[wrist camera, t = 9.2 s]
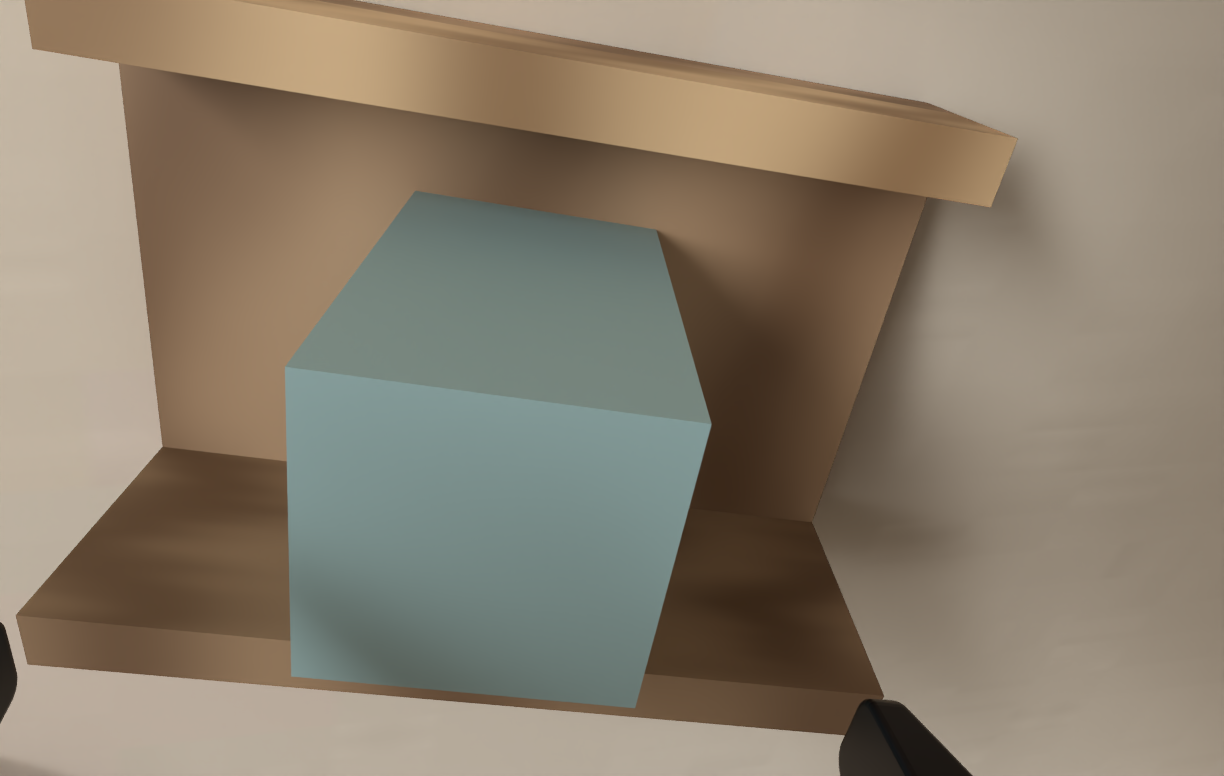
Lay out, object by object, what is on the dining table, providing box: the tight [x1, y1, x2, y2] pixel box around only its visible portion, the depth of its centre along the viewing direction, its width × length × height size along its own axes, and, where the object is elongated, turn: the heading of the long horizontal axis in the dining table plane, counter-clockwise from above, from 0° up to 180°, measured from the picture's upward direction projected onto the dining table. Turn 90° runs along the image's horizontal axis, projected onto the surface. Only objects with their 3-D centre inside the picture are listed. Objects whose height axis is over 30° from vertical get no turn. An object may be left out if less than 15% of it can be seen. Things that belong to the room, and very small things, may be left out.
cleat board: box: [16, 0, 1018, 735], centre depth 16 cm, size 16×11×7 cm
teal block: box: [285, 191, 712, 708], centre depth 14 cm, size 5×5×8 cm
